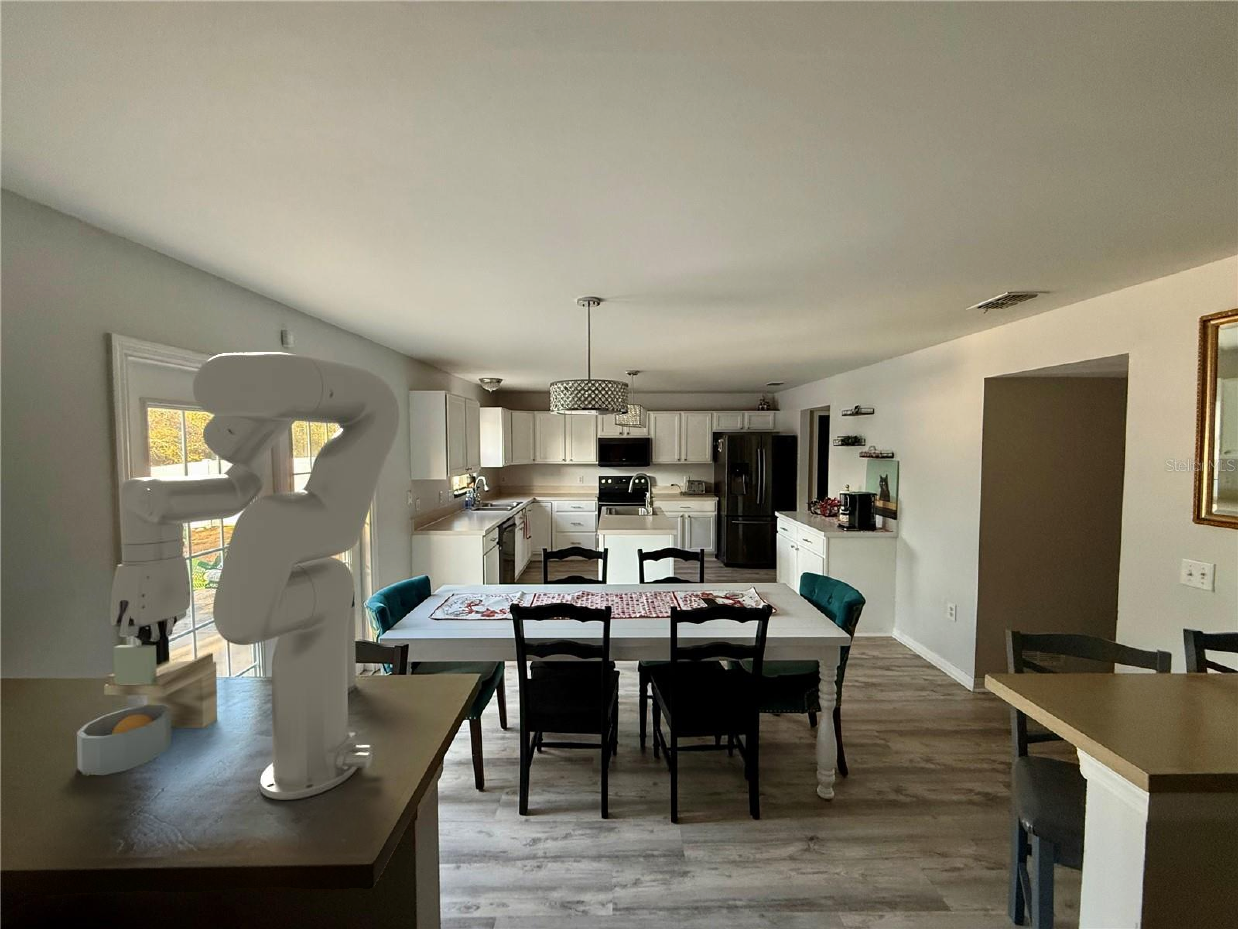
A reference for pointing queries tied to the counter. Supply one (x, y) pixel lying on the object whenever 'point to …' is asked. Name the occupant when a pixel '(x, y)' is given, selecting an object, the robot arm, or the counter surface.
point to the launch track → (179, 690)
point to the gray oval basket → (123, 741)
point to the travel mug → (351, 651)
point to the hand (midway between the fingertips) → (155, 662)
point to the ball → (132, 723)
